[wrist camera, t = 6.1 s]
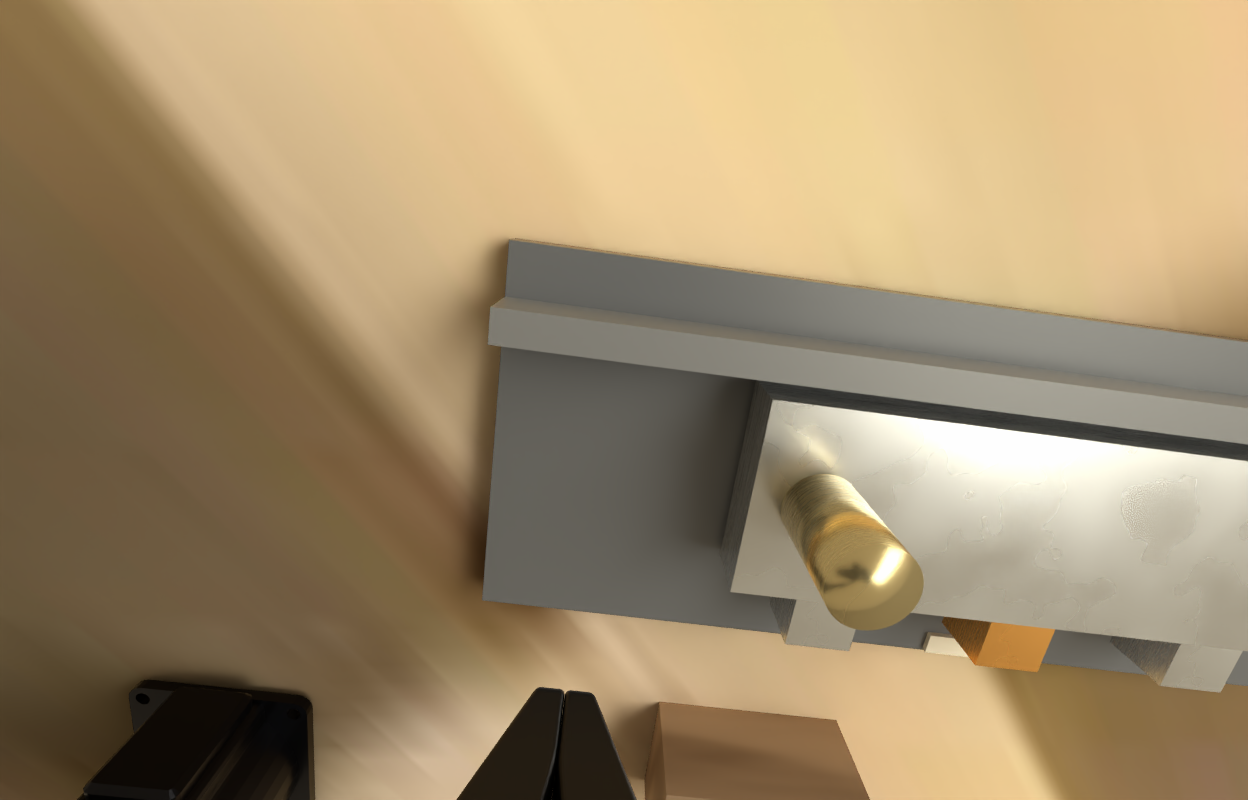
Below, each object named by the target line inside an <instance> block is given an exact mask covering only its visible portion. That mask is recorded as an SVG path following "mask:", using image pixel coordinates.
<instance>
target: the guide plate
mask: <svg viewBox="0 0 1248 800" xmlns="http://www.w3.org/2000/svg"><path fill="white" fill-rule="evenodd" d="M488 345H494V346H501V357H500V370H499V383H498V397H497V410H496V423H495V437H494V450H493V463H492V477H491V490H490V504H489V517H488V530H487V544H486V557H485V570H484V584H483V597H482V600H485V601H494V602H503V603H512V604H521V605H530V606H539V607H548V608H557V609H565V610H574V611H583V612H592V613H601V614H610V615H619V616H628V617H637V618H646V619H655V620H663V621H672V622H681V623H690V624H699V625H708V626H717V627H726V628H735V629H744V630H753V631H762V632H770V633H779V634H781V632H780V629H779V627H778V624H777V621H776V619H775V616H774V613H773V611H772V608H771V606H770V598H771V597H770V596H761V595H753V594H744V593H735V592H730V589H729V585H728V582H727V578H726V575H725V571H724V568H723V564H722V561H721V557H720V551H721V546H722V541H723V537H724V532H725V527H726V522H727V518H728V513H729V508H730V503H731V499H732V494H733V489H734V484H735V480H736V475H737V470H738V465H739V460H740V456H741V451H742V446H743V441H744V437H745V432H746V427H747V422H748V418H749V413H750V408H751V403H752V399H753V394H754V389H755V384H756V380H761V381H768V382H776V383H784V384H791V385H799V386H806V387H814V388H822V389H829V390H837V391H845V392H852V393H860V394H867V395H875V396H883V397H890V398H898V399H906V400H913V401H921V402H928V403H936V404H944V405H951V406H959V407H967V408H974V409H982V410H989V411H997V412H1005V413H1012V414H1020V415H1028V416H1035V417H1043V418H1050V419H1058V420H1066V421H1073V422H1081V423H1089V424H1096V425H1104V426H1112V427H1119V428H1127V429H1134V430H1142V431H1150V432H1157V433H1165V434H1173V435H1180V436H1188V437H1195V438H1203V439H1211V440H1218V441H1226V442H1234V443H1241V444H1248V340H1242V339H1234V338H1227V337H1220V336H1213V335H1206V334H1198V333H1191V332H1184V331H1177V330H1170V329H1163V328H1155V327H1148V326H1141V325H1134V324H1127V323H1119V322H1112V321H1105V320H1098V319H1091V318H1084V317H1076V316H1069V315H1062V314H1055V313H1048V312H1040V311H1033V310H1026V309H1019V308H1012V307H1005V306H997V305H990V304H983V303H976V302H969V301H961V300H954V299H947V298H940V297H933V296H926V295H918V294H911V293H904V292H897V291H890V290H883V289H875V288H868V287H861V286H854V285H847V284H839V283H832V282H825V281H818V280H811V279H804V278H796V277H789V276H782V275H775V274H768V273H760V272H753V271H746V270H739V269H732V268H725V267H717V266H710V265H703V264H696V263H689V262H681V261H674V260H667V259H660V258H653V257H646V256H638V255H631V254H624V253H617V252H610V251H602V250H595V249H588V248H581V247H574V246H567V245H559V244H552V243H545V242H538V241H531V240H523V239H516V238H515V239H510V240H509V250H508V263H507V276H506V290H505V297H504V298H502V299H501V300H499V301H498V302H496V303H495V304H494V305H492V306H491V307H490V319H489V334H488ZM943 618H944V616H935V615H927V614H918V613H910V614H909V615H907V616H906V617H905V618H904V619H902V620H901V621H899V622H898V623H896V624H894V625H892V626H889V627H886V628H883V629H878V630H869V631H866V630H857V629H856V630H855V633H854V636H853V640H852V642H860V643H869V644H877V645H886V646H895V647H904V648H913V649H922V650H924V651H925V652H927V653H935V654H944V655H953V656H962V657H968V655H967V654H966V653H965V651H964V650H963V649H962V648H961V646H960V645H959V644H958V643H957V641H956V640H955V639H954V637H953V636H952V635H951V634H950V632H949V631H948V630H947V629H946V627H945V626H944V625H943V623H942V620H943ZM1111 638H1112V636H1110V635H1101V634H1092V633H1083V632H1075V631H1066V630H1057V629H1055V632H1054V634H1053V636H1052V639H1051V641H1050V643H1049V646H1048V648H1047V650H1046V653H1045V655H1044V658H1043V660H1042V662H1041V663H1047V664H1056V665H1065V666H1074V667H1082V668H1091V669H1100V670H1109V671H1118V672H1127V673H1136V674H1145V675H1147V674H1146V673H1145V672H1144V671H1143V670H1141V669H1140V668H1139V667H1138V666H1137V665H1136V664H1135V663H1133V662H1132V661H1131V660H1130V659H1129V658H1128V657H1127V656H1125V655H1124V654H1123V653H1122V652H1121V651H1120V650H1119V649H1117V648H1116V647H1115V646H1114V645H1113V644H1112V643H1111V642H1110V640H1111ZM1225 684H1234V685H1243V686H1248V651H1243V652H1242V653H1241V655H1240V657H1239V659H1238V661H1237V663H1236V665H1235V666H1234V668H1233V670H1232V672H1231V674H1230V676H1229V677H1228V679H1227V681H1226V683H1225Z"/></svg>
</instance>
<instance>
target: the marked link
mask: <svg viewBox="0 0 1248 800" xmlns="http://www.w3.org/2000/svg"><path fill="white" fill-rule="evenodd" d="M645 800H870V799H869V796H868V794H867V792H866V789H865V787H864V785H863V782H862V780H861V778H860V775H859V773H858V771H857V768H856V766H855V763H854V761H853V759H852V756H851V754H850V752H849V749H848V747H847V745H846V742H845V740H844V738H843V735H842V733H841V731H840V728H839V726H838V723H837V721H836V720H828V719H818V718H809V717H799V716H790V715H780V714H771V713H761V712H751V711H742V710H732V709H723V708H713V707H703V706H694V705H684V704H675V703H665V702H659V706H658V712H657V717H656V722H655V728H654V733H653V738H652V743H651V749H650V754H649V759H648V765H647V770H646V775H645Z"/></svg>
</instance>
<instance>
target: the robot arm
mask: <svg viewBox="0 0 1248 800" xmlns="http://www.w3.org/2000/svg"><path fill="white" fill-rule="evenodd" d="M129 701H130V708H131V715H132V722H133V729H134V734H133V735H132V736H131V737H130V738H129V739H128V740H127V741H126V742H125V743H124V744H123V745H122V746H121V747H120V749H119V750H118V751H117V752H116V753H115V754H114V755H113V756H112V757H111V758H110V759H109V760H108V761H107V762H106V763H105V765H104V766H103V767H102V768H101V769H100V770H99V771H98V772H97V773H96V774H95V775H94V776H93V777H92V778H91V779H90V780H89V782H88V783H87V784H86V785H85V787H84V788H83V790H84V793H83V794H82V795H81V796H80V797H79V798H78V799H77V800H315V779H314V744H313V708H312V704H311V702H310V701H309V700H308V699H307V698H305V697H303V696H299V695H291V694H281V693H272V692H262V691H252V690H243V689H233V688H223V687H214V686H204V685H194V684H185V683H175V682H166V681H156V680H144V681H141V682H140V683H139V684H138V685H137V686H136V687H135V688H134V689H133V690H132V691H131V692H130V693H129ZM563 704H564V706H563ZM295 709H296V710H295ZM297 710H298V711H297ZM562 712H563V714H562ZM551 799H552V800H637V799H636V797H635V794H634V792H633V789H632V787H631V784H630V782H629V779H628V777H627V774H626V772H625V769H624V767H623V764H622V762H621V760H620V757H619V755H618V752H617V750H616V747H615V745H614V742H613V740H612V737H611V735H610V732H609V730H608V727H607V725H606V722H605V720H604V717H603V715H602V712H601V710H600V708H599V705H598V703H597V700H596V698H595V696H594V695H593V694H592V693H590V692H581V691H572V690H570V691H567V692H566V694H565V698H564V691H563V690H561V689H553V688H544V687H539V688H537V689H536V690H535V691H534V692H533V693H532V695H531V696H530V698H529V699H528V700H527V702H526V703H525V704H524V706H523V707H522V709H521V710H520V711H519V713H518V714H517V716H516V717H515V718H514V720H513V721H512V723H511V724H510V725H509V727H508V728H507V730H506V731H505V732H504V734H503V735H502V737H501V738H500V739H499V741H498V742H497V744H496V745H495V746H494V748H493V749H492V751H491V752H490V753H489V755H488V756H487V758H486V759H485V760H484V762H483V763H482V765H481V766H480V767H479V769H478V770H477V772H476V773H475V774H474V776H473V777H472V779H471V780H470V781H469V783H468V784H467V786H466V787H465V788H464V790H463V791H462V793H461V794H460V795H459V797H458V798H457V800H551Z"/></svg>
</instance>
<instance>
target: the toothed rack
mask: <svg viewBox="0 0 1248 800" xmlns="http://www.w3.org/2000/svg"><path fill="white" fill-rule="evenodd" d="M720 557H721V561H722V564H723V568H724V571H725V575H726V578H727V582H728V585H729V589H730V592H735V593H744V594H753V595H761V596H770V597H771V598H770V606H771V608H772V611H773V613H774V616H775V619H776V621H777V624H778V627H779V629H780V632H781V635H782V637H783V640H784V642H785V644H790V645H799V646H808V647H817V648H826V649H835V650H844V651H849V650H850V646H851V643H852V640H853V636H854V633H855V630H856V629H857V630H866V631H869V630H878V629H883V628H886V627H889V626H892V625H894V624H896V623H898V622H899V621H901V620H902V619H904V618H905V617H906V616H907V615H909V614H910V613H918V614H927V615H935V616H944V618H943V620H942V623H943V625H944V626H945V627H946V629H947V630H948V631H949V632H950V634H951V635H952V636H953V637H954V639H955V640H956V641H957V643H958V644H959V645H960V646H961V648H962V649H963V650H964V651H965V653H966V654H967V655H968V657H969V658H970V659H971V660H972V662H973V663H974V664H975V665H978V666H987V667H996V668H1005V669H1014V670H1023V671H1032V672H1038V669H1039V667H1040V665H1041V662H1042V660H1043V658H1044V655H1045V653H1046V650H1047V648H1048V646H1049V643H1050V641H1051V639H1052V636H1053V634H1054V632H1055V629H1057V630H1066V631H1075V632H1083V633H1092V634H1101V635H1110V636H1112V638H1111V640H1110V642H1111V643H1112V644H1113V645H1114V646H1115V647H1116V648H1117V649H1119V650H1120V651H1121V652H1122V653H1123V654H1124V655H1125V656H1127V657H1128V658H1129V659H1130V660H1131V661H1132V662H1133V663H1135V664H1136V665H1137V666H1138V667H1139V668H1140V669H1141V670H1143V671H1144V672H1145V673H1146V674H1147V675H1148V676H1149V677H1151V678H1152V679H1153V680H1154V681H1155V682H1156V683H1157V684H1159V685H1160V686H1167V687H1176V688H1185V689H1194V690H1203V691H1212V692H1221V690H1222V688H1223V687H1224V685H1225V683H1226V681H1227V679H1228V677H1229V676H1230V674H1231V672H1232V670H1233V668H1234V666H1235V665H1236V663H1237V661H1238V659H1239V657H1240V655H1241V653H1242V652H1243V651H1248V444H1241V443H1234V442H1226V441H1218V440H1211V439H1203V438H1195V437H1188V436H1180V435H1173V434H1165V433H1157V432H1150V431H1142V430H1134V429H1127V428H1119V427H1112V426H1104V425H1096V424H1089V423H1081V422H1073V421H1066V420H1058V419H1050V418H1043V417H1035V416H1028V415H1020V414H1012V413H1005V412H997V411H989V410H982V409H974V408H967V407H959V406H951V405H944V404H936V403H928V402H921V401H913V400H906V399H898V398H890V397H883V396H875V395H867V394H860V393H852V392H845V391H837V390H829V389H822V388H814V387H806V386H799V385H791V384H784V383H776V382H768V381H761V380H756V384H755V389H754V394H753V399H752V403H751V408H750V413H749V418H748V422H747V427H746V432H745V437H744V441H743V446H742V451H741V456H740V460H739V465H738V470H737V475H736V480H735V484H734V489H733V494H732V499H731V503H730V508H729V513H728V518H727V522H726V527H725V532H724V537H723V541H722V546H721V551H720Z"/></svg>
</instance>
